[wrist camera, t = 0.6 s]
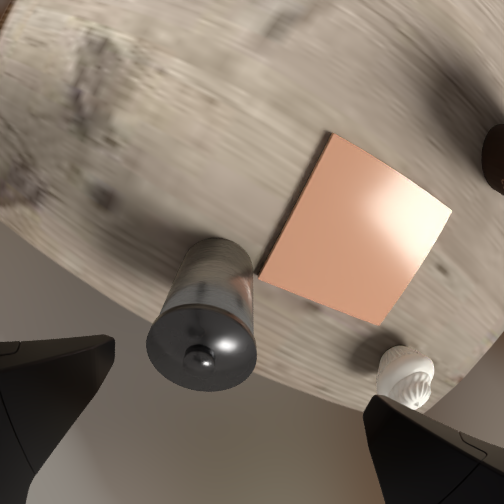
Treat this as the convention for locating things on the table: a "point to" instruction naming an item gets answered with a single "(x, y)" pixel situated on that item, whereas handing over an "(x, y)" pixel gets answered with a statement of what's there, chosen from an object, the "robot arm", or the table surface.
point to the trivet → (354, 234)
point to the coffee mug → (494, 158)
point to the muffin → (405, 376)
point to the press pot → (207, 320)
